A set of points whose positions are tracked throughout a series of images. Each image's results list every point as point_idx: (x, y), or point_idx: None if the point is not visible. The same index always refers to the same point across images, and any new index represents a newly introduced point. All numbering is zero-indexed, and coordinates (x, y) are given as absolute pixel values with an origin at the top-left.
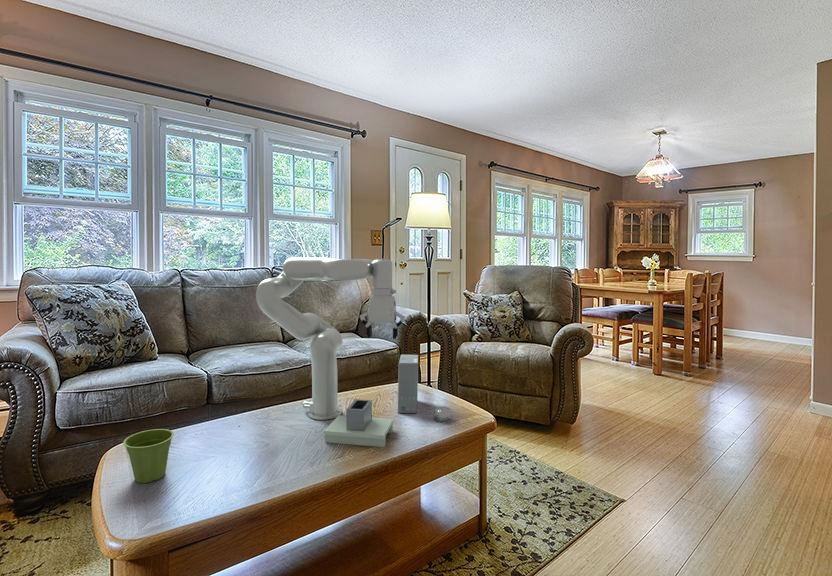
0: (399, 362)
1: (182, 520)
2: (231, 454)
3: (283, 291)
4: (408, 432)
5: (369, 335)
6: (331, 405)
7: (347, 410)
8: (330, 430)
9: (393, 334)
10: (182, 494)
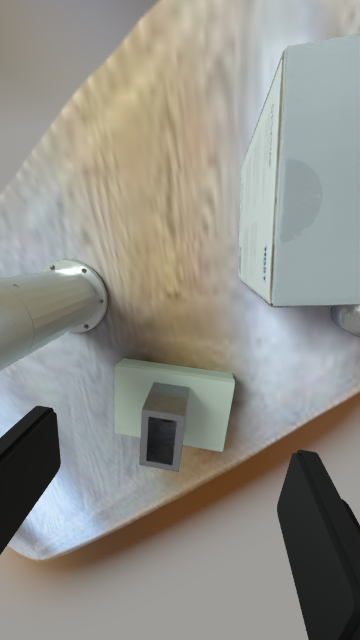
0: (274, 295)
1: (58, 546)
2: None
3: None
4: (265, 379)
5: (45, 488)
6: (80, 323)
7: (142, 463)
8: (123, 431)
9: (297, 567)
10: (28, 515)
